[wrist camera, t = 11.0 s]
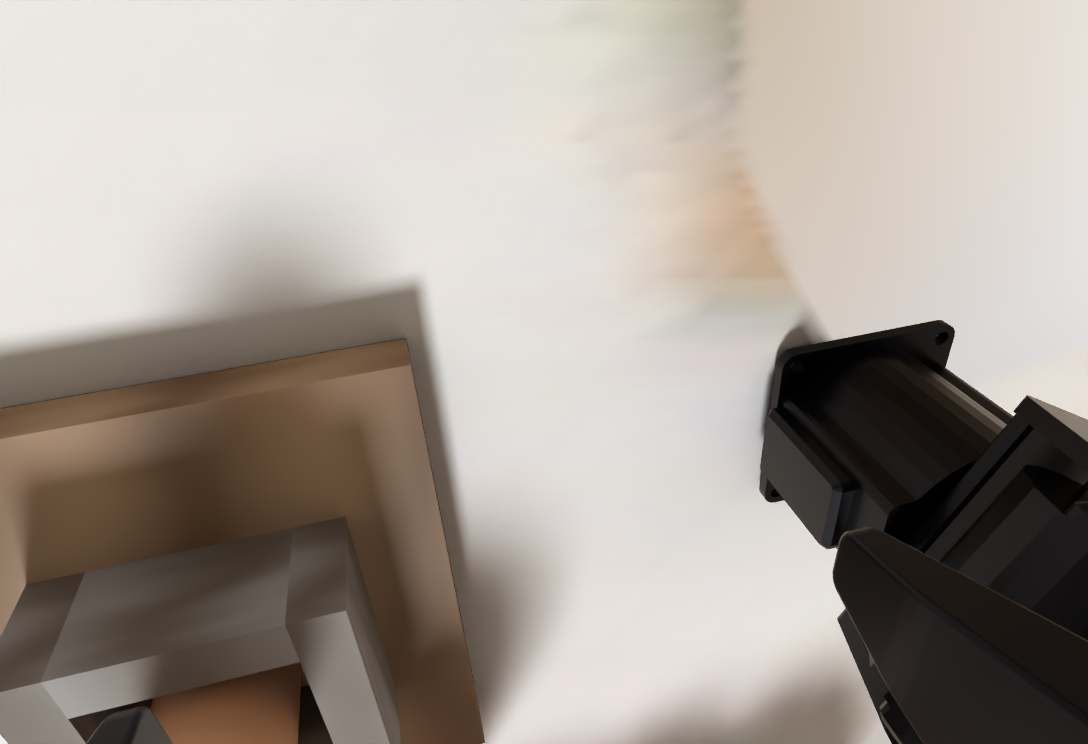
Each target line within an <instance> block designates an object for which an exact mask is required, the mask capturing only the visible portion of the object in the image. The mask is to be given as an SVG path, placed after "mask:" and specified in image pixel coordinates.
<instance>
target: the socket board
mask: <svg viewBox="0 0 1088 744" xmlns="http://www.w3.org/2000/svg"><path fill="white" fill-rule="evenodd" d="M298 662H300V663H301V666H302V676H301V694H300V712H299V730H298V744H482V743H485V740H484V735H483V729H482V724H481V718H480V713H479V707H478V702H477V697H476V692H475V687H474V682H473V677H472V672H471V666H470V661H469V656H468V651H467V646H466V641H465V636H464V631H463V626H462V621H461V616H460V611H459V606H458V600H457V595H456V590H455V585H454V580H453V575H452V570H451V565H450V560H449V555H448V550H447V545H446V540H445V534H444V529H443V524H442V519H441V514H440V509H439V504H438V499H437V494H436V489H435V484H434V479H433V473H432V468H431V463H430V458H429V453H428V448H427V443H426V438H425V433H424V428H423V423H422V418H421V413H420V407H419V402H418V397H417V392H416V387H415V382H414V377H413V372H412V367H411V362H410V357H409V352H408V346H407V341H406V338H405V339H399V340H393V341H387V342H382V343H376V344H370V345H365V346H359V347H353V348H347V349H342V350H336V351H330V352H324V353H319V354H313V355H307V356H301V357H296V358H290V359H284V360H278V361H273V362H267V363H261V364H255V365H250V366H244V367H238V368H232V369H227V370H221V371H215V372H209V373H204V374H198V375H192V376H186V377H181V378H175V379H169V380H163V381H158V382H152V383H146V384H140V385H135V386H129V387H123V388H117V389H112V390H106V391H100V392H94V393H89V394H83V395H77V396H71V397H66V398H60V399H54V400H48V401H43V402H37V403H31V404H25V405H20V406H14V407H8V408H2V409H0V734H1V735H2V737H3V738H4V739H5V740H6V741H7V743H8V744H85V743H86V742H87V741H88V739H89V738H90V737H91V735H92V734H93V733H94V731H95V730H96V729H97V727H98V726H99V725H100V724H101V722H102V721H103V720H104V719H105V718H106V717H108V716H109V715H111V714H113V713H115V712H119V711H124V710H128V709H132V708H136V707H140V706H145V707H148V708H151V704H152V700H153V698H156V697H160V696H164V695H168V694H172V693H176V692H180V691H184V690H188V689H192V688H196V687H200V686H204V685H209V684H213V683H217V682H221V681H225V680H229V679H233V678H237V677H241V676H245V675H249V674H253V673H257V672H262V671H266V670H270V669H274V668H278V667H282V666H286V665H290V664H294V663H298Z"/></svg>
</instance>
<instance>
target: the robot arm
mask: <svg viewBox="0 0 1088 744" xmlns="http://www.w3.org/2000/svg"><path fill="white" fill-rule="evenodd" d="M954 333H955V331H954V328H953V327H951V326H950V325H948V324H947V323H945V322H943V321H942V320H936V321H931V322H926V323H921V324H915V325H911V326H905V327H900V328H895V329H890V330H885V331H880V332H874V333H869V334H864V335H859V336H854V337H849V338H843V339H838V340H833V341H828V342H823V343H818V344H813V345H807V346H802V347H797V348H792V349H789V350H786V351H785V352H784V353H782V354H781V355H780V357H779V358H778V360H777V363H776V368H775V376H774V383H773V391H772V398H771V406H770V411H769V413H768V415H767V420H766V427H765V435H764V442H763V450H762V458H761V465H760V469H761V471H762V473H761V480H760V488H759V489H760V492H761V494H762V495H763V496H764V498H765V499H766V500H767V501H768V502H778V501H782V500H785V501H786V503H787V504H788V505H789V506H790V508H791V509H792V510H793V511H794V513H795V514H796V515H797V516H798V518H799V519H800V520H801V521H802V523H803V524H804V525H805V527H806V528H807V529H808V530H809V532H810V533H811V534H812V535H813V537H814V538H815V539H816V540H817V542H818V543H819V544H820V545H822V546H823V547H824V548H826V549H831V548H835V547H836V548H837V549H838V550H837V554H836V559H835V563H834V568H833V581H834V585H835V588H836V590H837V592H838V594H839V596H840V598H841V600H842V602H843V604H844V605H845V607H846V609H845V610H844V611H843V612H842V613H841V614H840V616H839V617H838V618H837V619H838V622H839V624H840V627H841V629H842V631H843V634H844V636H845V638H846V641H847V643H848V645H849V648H850V650H851V652H852V655H853V657H854V659H855V662H856V664H857V666H858V669H859V671H860V673H861V676H862V678H863V680H864V683H865V685H866V687H867V690H868V692H869V694H870V697H871V699H872V701H873V704H874V706H875V708H876V711H877V713H878V715H879V718H880V720H881V722H882V725H883V727H884V729H885V731H886V733H887V735H888V737H889V739H890V741H891V743H892V744H1088V420H1087V419H1084V418H1082V417H1079V416H1077V415H1075V414H1072V413H1070V412H1067V411H1065V410H1062V409H1060V408H1058V407H1055V406H1053V405H1050V404H1048V403H1045V402H1043V401H1041V400H1038V399H1036V398H1033V397H1031V396H1028V395H1027V396H1026V397H1025V398H1024V399H1023V401H1022V402H1021V403H1020V404H1019V405H1018V406H1017V408H1016V409H1015V410H1014V412H1015V413H1016V414H1015V416H1014V417H1013V416H1012V415H1011V414H1009V413H1008V412H1006V411H1005V410H1004V409H1002V408H1001V407H999V406H998V405H997V404H995V403H994V402H992V401H991V400H990V399H988V398H987V397H985V396H984V395H983V394H981V393H980V392H978V391H977V390H975V389H974V388H973V387H971V386H970V385H968V384H967V383H966V382H964V381H963V380H961V379H960V378H958V377H957V376H956V375H954V374H953V373H952V372H950V371H949V370H947V369H946V368H945V367H946V363H947V360H948V356H949V352H950V349H951V346H952V342H953V339H954ZM795 361H796V363H795V364H794V365H793V366H792V367H790V365H791V364H792V363H793V362H795ZM774 488H775V489H774ZM85 744H172V742H171V740H170V738H169V737H168V735H167V734H166V732H165V730H164V729H163V727H162V726H161V724H160V722H159V721H158V719H157V718H156V716H155V715H154V713H153V712H152V710H151V709H150V708H148V707H145V706H140V707H136V708H132V709H128V710H124V711H119V712H115V713H113V714H111V715H109V716H108V717H106V718H105V719H104V720H103V721H102V722H101V724H100V725H99V726H98V727H97V729H96V730H95V731H94V733H93V734H92V735H91V737H90V738H89V739H88V741H87V742H86V743H85Z"/></svg>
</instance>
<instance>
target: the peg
mask: <svg viewBox="0 0 1088 744" xmlns="http://www.w3.org/2000/svg"><path fill="white" fill-rule="evenodd" d="M301 676H302V666H301V663H300V662H298V663H294V664H290V665H286V666H282V667H278V668H274V669H270V670H266V671H262V672H257V673H253V674H249V675H245V676H241V677H237V678H233V679H229V680H225V681H221V682H217V683H213V684H209V685H204V686H200V687H196V688H192V689H188V690H184V691H180V692H176V693H172V694H168V695H164V696H160V697H156V698H153V700H152V704H151V708H150V709H151V710H152V712H153V713H154V715H155V716H156V718H157V719H158V721H159V722H160V724H161V726H162V727H163V729H164V730H165V732H166V734H167V735H168V737H169V738H170V740H171V742H172V744H298V730H299V712H300V694H301Z"/></svg>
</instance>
